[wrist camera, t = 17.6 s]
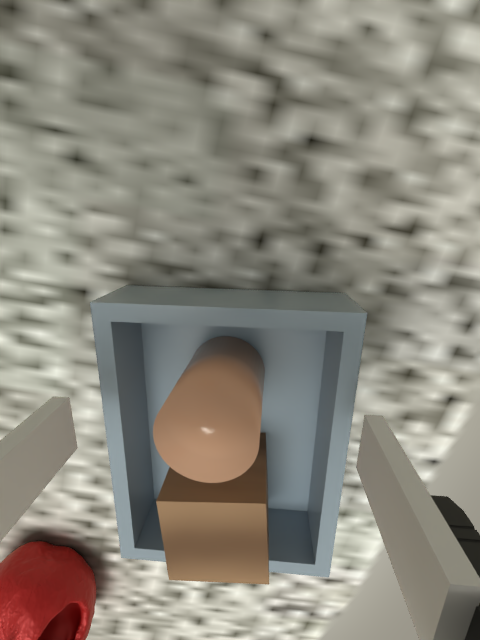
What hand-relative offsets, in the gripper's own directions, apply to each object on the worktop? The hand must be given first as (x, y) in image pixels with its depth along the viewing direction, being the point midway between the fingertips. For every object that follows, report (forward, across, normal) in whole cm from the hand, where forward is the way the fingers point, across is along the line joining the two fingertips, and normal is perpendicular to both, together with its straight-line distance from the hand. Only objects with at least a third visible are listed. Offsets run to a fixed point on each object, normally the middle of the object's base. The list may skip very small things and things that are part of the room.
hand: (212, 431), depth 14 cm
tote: (+8, 0, -4) cm, 9 cm away
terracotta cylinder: (+7, 0, -1) cm, 7 cm away
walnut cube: (+7, 0, -9) cm, 11 cm away
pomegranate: (+8, -16, -22) cm, 28 cm away
